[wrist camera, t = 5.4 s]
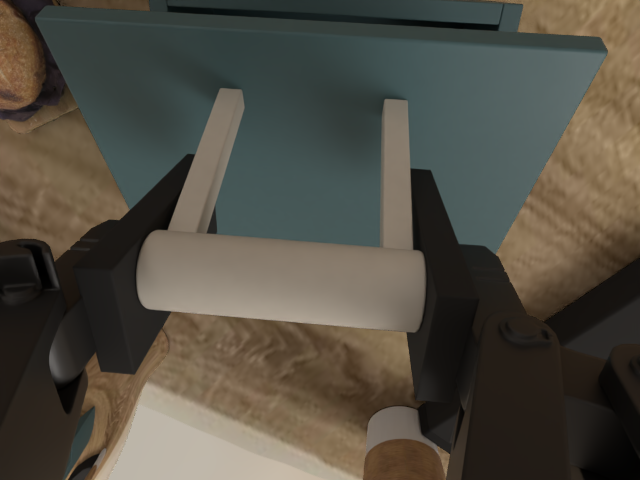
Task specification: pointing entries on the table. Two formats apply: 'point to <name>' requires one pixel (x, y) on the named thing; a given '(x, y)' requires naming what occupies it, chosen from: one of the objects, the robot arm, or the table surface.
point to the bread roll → (29, 69)
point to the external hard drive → (566, 339)
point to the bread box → (363, 11)
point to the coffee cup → (400, 448)
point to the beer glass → (109, 415)
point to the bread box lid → (314, 148)
